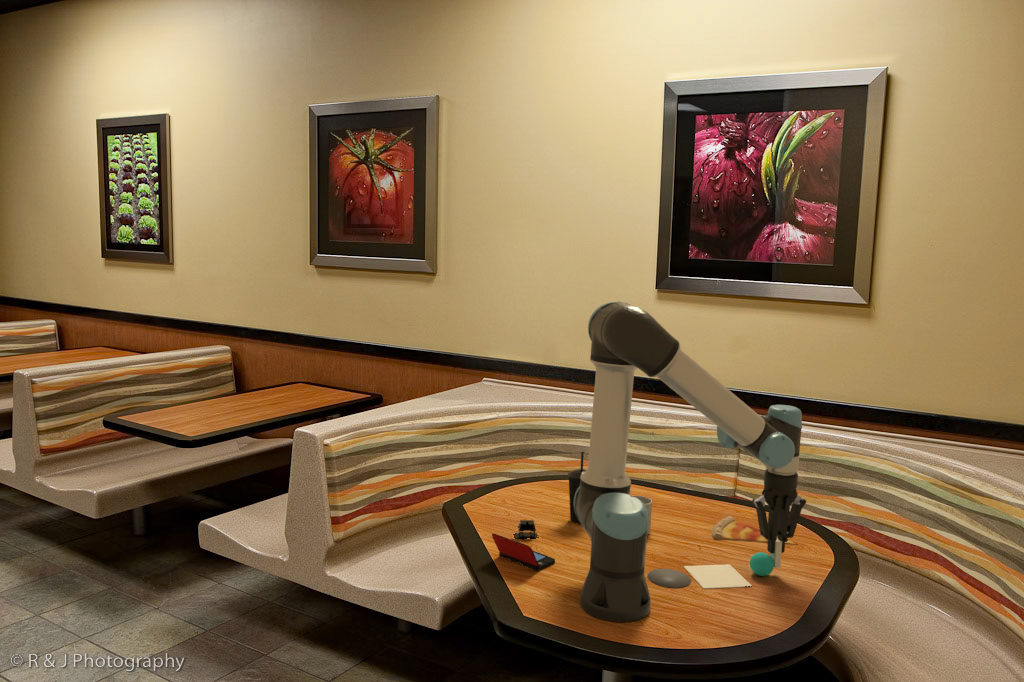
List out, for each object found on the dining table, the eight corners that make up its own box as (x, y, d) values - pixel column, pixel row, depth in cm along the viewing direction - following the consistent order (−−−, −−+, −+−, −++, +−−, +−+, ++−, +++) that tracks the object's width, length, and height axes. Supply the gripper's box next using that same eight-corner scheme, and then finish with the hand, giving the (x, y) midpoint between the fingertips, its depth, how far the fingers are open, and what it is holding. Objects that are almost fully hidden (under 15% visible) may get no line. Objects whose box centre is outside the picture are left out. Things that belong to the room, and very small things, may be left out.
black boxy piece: (503, 543, 202) (504, 526, 201) (502, 533, 209) (502, 516, 208) (551, 544, 203) (552, 527, 202) (548, 533, 210) (548, 517, 209)
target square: (703, 588, 178) (703, 588, 178) (683, 566, 190) (683, 566, 190) (752, 586, 180) (752, 585, 180) (729, 565, 192) (729, 564, 192)
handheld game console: (557, 563, 190) (558, 534, 189) (529, 577, 182) (530, 547, 181) (518, 549, 198) (519, 521, 197) (489, 561, 190) (490, 532, 189)
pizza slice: (764, 560, 197) (764, 552, 197) (693, 532, 214) (693, 525, 214) (797, 546, 207) (798, 539, 207) (727, 521, 224) (727, 514, 224)
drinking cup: (570, 527, 213) (574, 456, 211) (561, 517, 221) (565, 448, 218) (596, 525, 216) (600, 455, 213) (586, 515, 223) (590, 447, 220)
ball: (767, 584, 185) (751, 571, 183) (756, 574, 190) (741, 561, 189) (782, 566, 185) (767, 553, 183) (771, 557, 190) (756, 544, 189)
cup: (645, 526, 216) (647, 495, 215) (657, 540, 206) (659, 507, 205) (620, 526, 215) (622, 495, 214) (630, 540, 205) (632, 508, 204)
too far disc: (656, 588, 177) (656, 588, 177) (641, 570, 187) (641, 569, 187) (697, 587, 179) (697, 586, 179) (681, 568, 189) (681, 567, 189)
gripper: (798, 465, 189) (791, 557, 192) (748, 466, 187) (742, 560, 190) (815, 474, 182) (807, 570, 185) (763, 476, 179) (757, 573, 183)
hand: (774, 565), depth 187 cm, fingers closed
